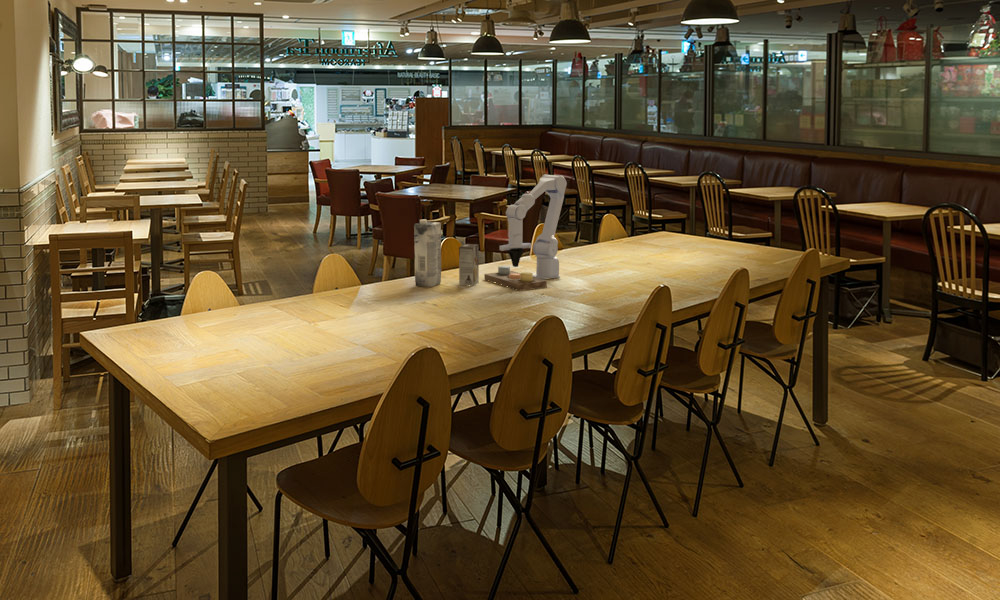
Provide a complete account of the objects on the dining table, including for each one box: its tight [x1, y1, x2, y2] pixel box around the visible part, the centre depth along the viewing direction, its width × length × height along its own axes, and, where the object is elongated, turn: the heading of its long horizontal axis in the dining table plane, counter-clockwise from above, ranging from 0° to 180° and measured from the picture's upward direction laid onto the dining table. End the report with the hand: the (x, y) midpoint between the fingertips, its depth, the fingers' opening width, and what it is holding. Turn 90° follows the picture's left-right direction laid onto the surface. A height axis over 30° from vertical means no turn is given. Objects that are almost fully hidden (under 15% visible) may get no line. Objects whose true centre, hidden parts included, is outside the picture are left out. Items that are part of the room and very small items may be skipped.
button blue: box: [497, 265, 511, 276], centre depth 374 cm, size 5×5×3 cm
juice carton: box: [413, 218, 442, 288], centre depth 360 cm, size 9×10×27 cm
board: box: [483, 270, 548, 291], centre depth 368 cm, size 14×26×2 cm, turn 32°
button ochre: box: [520, 271, 534, 283], centre depth 360 cm, size 5×5×3 cm
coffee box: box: [458, 243, 480, 287], centre depth 365 cm, size 9×6×16 cm
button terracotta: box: [509, 273, 521, 279], centre depth 367 cm, size 5×5×3 cm
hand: (515, 266), depth 366 cm, fingers closed
